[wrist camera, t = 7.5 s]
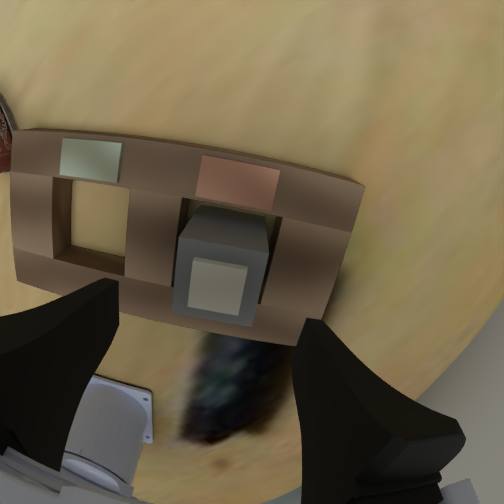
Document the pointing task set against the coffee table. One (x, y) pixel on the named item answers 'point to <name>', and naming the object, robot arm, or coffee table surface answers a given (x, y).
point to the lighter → (6, 135)
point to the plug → (220, 265)
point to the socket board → (178, 222)
